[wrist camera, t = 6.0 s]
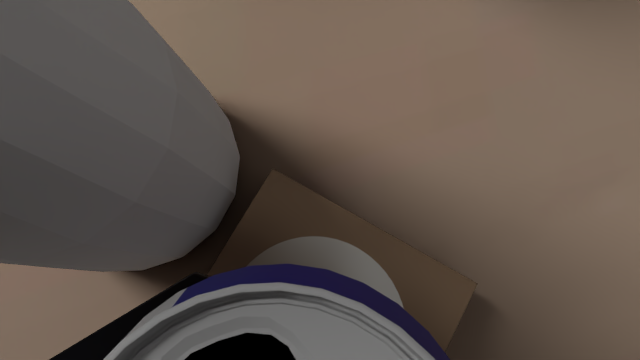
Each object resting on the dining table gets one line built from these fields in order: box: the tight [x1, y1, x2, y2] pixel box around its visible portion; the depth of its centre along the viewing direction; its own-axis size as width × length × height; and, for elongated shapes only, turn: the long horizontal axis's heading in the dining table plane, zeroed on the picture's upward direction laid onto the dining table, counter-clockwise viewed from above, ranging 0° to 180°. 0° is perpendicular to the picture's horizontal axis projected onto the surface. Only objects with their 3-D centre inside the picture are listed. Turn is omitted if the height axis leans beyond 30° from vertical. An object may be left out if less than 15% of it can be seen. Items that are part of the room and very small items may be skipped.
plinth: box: [207, 169, 477, 352], centre depth 17 cm, size 10×10×3 cm
